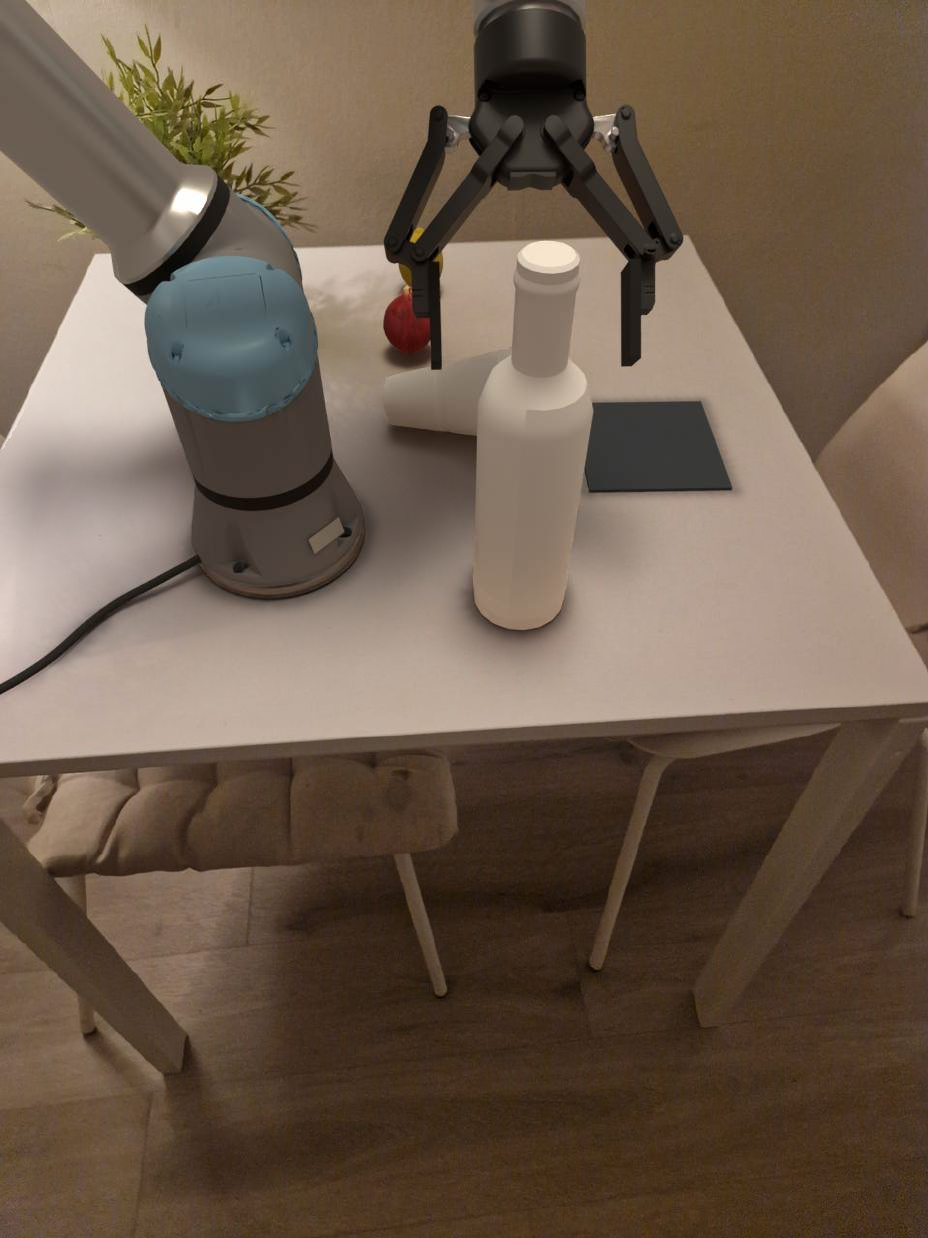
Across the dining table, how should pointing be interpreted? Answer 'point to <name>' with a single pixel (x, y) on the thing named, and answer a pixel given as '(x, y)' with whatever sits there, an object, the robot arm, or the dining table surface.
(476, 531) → the bottle
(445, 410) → the cup
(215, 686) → the dining table surface
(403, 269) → the lemon
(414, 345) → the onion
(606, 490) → the mat
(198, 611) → the dining table surface
